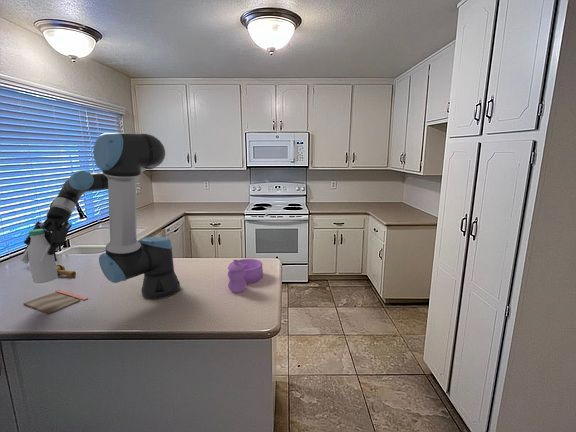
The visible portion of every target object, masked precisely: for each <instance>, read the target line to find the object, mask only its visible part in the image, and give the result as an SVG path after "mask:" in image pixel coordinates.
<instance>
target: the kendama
mask: <svg viewBox="0 0 576 432" xmlns="http://www.w3.org/2000/svg"><path fill="white" fill-rule="evenodd" d="M56 269H57V275H62V276H67V277H69V278H74V277H75V276H76V274H77V273H76V271H72V270H67V269H66V267H65V265H64V264H61V263H60V264H57V265H56Z"/></svg>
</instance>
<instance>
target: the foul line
mask: <svg viewBox="0 0 576 432" xmlns="http://www.w3.org/2000/svg"><path fill="white" fill-rule="evenodd" d="M54 292H56V293H59V294H62V295H66V296H69V297H72V298H75V299H79V300H80V301H84V302H85V301H87V300H89V298H88V297H85V296H81V295H78V294H74V293H73V292H72V293H71V292H68V291H65V290H61V289H56V290H55V291H54Z"/></svg>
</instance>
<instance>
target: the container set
mask: <svg viewBox="0 0 576 432" xmlns="http://www.w3.org/2000/svg"><path fill="white" fill-rule="evenodd" d="M227 269H228V271H227V277H228V279H229V281H228V284H227V285H228V286H227V287H228V290H229V291H231V293H234V294H238V293H242V292H244V291H245V289H246V287H247V285H250V284H254V283H258V282H259V281H261V280H262V279H263V277H264V272H263V271H264V270H263V262H262V261H261V260H260V259H255V258H243V259H242V258H241V259H233V260H232V261H231V262H230V263H229V264H228V266H227Z"/></svg>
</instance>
